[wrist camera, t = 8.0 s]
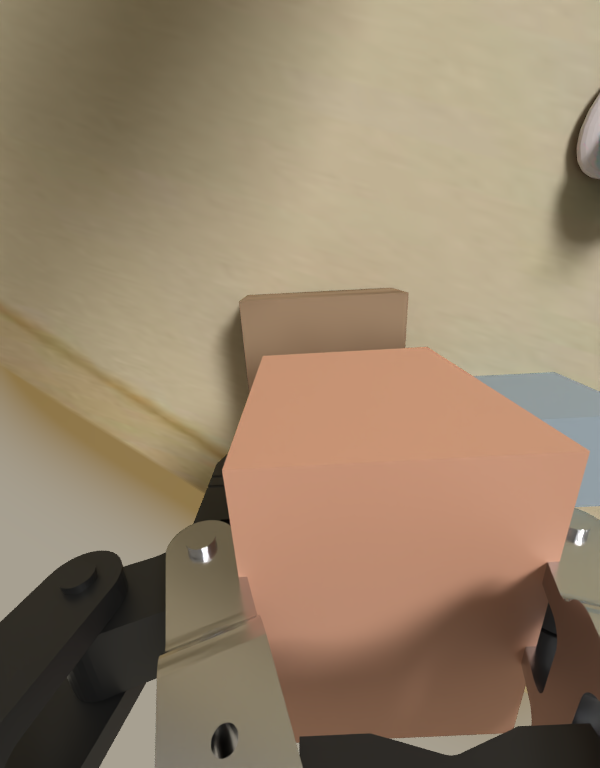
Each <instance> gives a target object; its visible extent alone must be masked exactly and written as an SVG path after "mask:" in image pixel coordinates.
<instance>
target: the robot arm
mask: <svg viewBox="0 0 600 768" xmlns="http://www.w3.org/2000/svg"><path fill="white" fill-rule="evenodd" d="M227 455H228V454H227ZM227 455H226V456H225V457H224V458H223V459H222V460H221V461H220V462H218V463H217V465H216V467H215V470H214V472H213V475H212V478H211V480H210V483H209V485H208V488H207V490H206V493H205V496H204V498H203V501H202V503H201V506H200V508H199V511H198V513H197V516H196V518H195V521H194V523H193V524H192V525H190V526H188V527H187V528H185V529H183V530H182V531H180V532H179V533H178V534H177V535H176V536H175V537H174V538H173V539H172V541H171V542H170V544H169V545H168V548H167V551H166V553H164V554H162V555H159V556H156V557H154V558H150V559H147V560H144V561H141V562H138V563H134V564H131V565H128V566H125V567H123V565H122V562H121V560H120V557H118V555H117V554H115V553H113V552H110V551H95V552H90V553H86V554H83V555H81V556H78V557H76V558H74V559H72V560H70V561H68V562H67V563H65V564H63V565H62V566H60V567H59V568H58V569H56V570H55V571H54V572H53V573H52V574H51V575H50V576H48V577H47V578H46V579H45V580H44V581H43V582H42V583H41V584H40V585H39V586H38V587H37V588H36V589H35V590H34V591H33V592H31V593H30V594H29V596H27V597H26V598H25V599H24V600H23V601H22V602H21V603H20V604H19V605H18V606H17V607H16V608H15V609H14V610H13V611H12V612H10V613H9V614H8V615H7V616H6V617H5V618H4V619H3V620H2V621H1V622H0V768H99V766H100V765H101V763H102V761H103V759H104V757H105V756H106V754H107V752H108V750H109V748H110V747H111V745H112V743H113V741H114V739H115V738H116V736H117V734H118V732H119V731H120V729H121V727H122V725H123V723H124V721H125V719H126V718H127V716H128V714H129V713H130V711H131V709H132V707H133V705H134V704H135V702H136V700H137V698H138V696H139V695H140V693H141V691H142V689H143V687H144V685H145V684H146V682H148V681H151V680H153V679H156V678H157V690H156V691H157V692H156V735H155V736H156V737H155V768H600V520H599V519H597V518H595V517H594V516H592V515H590V514H588V513H586V512H584V511H582V510H579V509H576V508H574V511H573V515H572V519H571V522H570V526H569V530H568V533H567V537H566V540H565V544H564V548H563V551H562V555H561V559H560V562H547V566H546V570H545V574H544V578H543V581H542V585H543V588H544V591H545V593H546V596H547V599H548V606H547V609H546V613H545V617H544V620H543V624H542V628H541V631H540V635H539V638H538V642H537V646H530V647H525V650H524V654H523V658H522V662H521V665H522V670H523V674H524V678H525V683H526V687H527V691H528V696H529V700H530V706H531V714H532V726H518V727H516V728H514V729H512V730H510V731H507V732H505V733H503V734H501V735H499V736H497V737H495V738H493V739H491V740H488V741H486V742H484V743H482V744H480V745H478V746H476V747H474V748H471V749H470V750H467V751H465V752H463V753H461V754H458V755H453V756H449V755H444V754H440V753H437V752H433V751H430V750H426V749H422V748H420V747H416V746H413V745H409V744H406V743H402V742H399V741H395V740H392V739H389V738H385V737H382V736H378V735H375V734H371V733H365V734H343V735H322V736H300V737H299V744H300V755H299V752H298V748H297V745H296V741H295V737H294V733H293V730H292V726H291V723H290V719H289V715H288V712H287V708H286V704H285V701H284V697H283V693H282V690H281V686H280V683H279V679H278V675H277V672H276V668H275V664H274V661H273V657H272V654H271V650H270V646H269V643H268V639H267V635H266V632H265V628H264V625H263V622H262V619H261V616H260V615H257V612H256V608H255V605H254V601H253V597H252V593H251V590H250V586H249V582H248V578H247V577H238V570H237V564H236V557H235V551H234V544H233V538H232V531H231V525H230V518H229V512H228V505H227V499H226V492H225V486H224V479H223V473H222V469H223V466H224V463H225V461H226V458H227Z"/></svg>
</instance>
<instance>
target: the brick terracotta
mask: <svg viewBox="0 0 600 768" xmlns="http://www.w3.org/2000/svg"><path fill="white" fill-rule="evenodd" d="M589 453H590V451H589V450H588V449H586V448H584V447H583V446H581V445H580V444H578V443H577V442H575V441H573V440H572V439H570V438H569V437H567V436H566V435H564V434H563V433H561V432H559V431H558V430H556V429H555V428H553V427H552V426H550V425H548V424H547V423H545V422H544V421H542V420H541V419H539V418H538V417H536V416H534V415H533V414H531V413H530V412H528V411H527V410H525V409H523V408H522V407H520V406H519V405H517V404H516V403H514V402H513V401H511V400H509V399H508V398H506V397H505V396H503V395H502V394H500V393H498V392H497V391H495V390H494V389H492V388H491V387H489V386H487V385H486V384H484V383H483V382H481V381H480V380H478V379H477V378H475V377H473V376H472V375H470V374H469V373H467V372H466V371H464V370H462V369H461V368H459V367H458V366H456V365H455V364H453V363H452V362H450V361H448V360H447V359H445V358H444V357H442V356H441V355H439V354H437V353H436V352H434V351H433V350H431V349H430V348H428V347H417V348H399V349H380V350H362V351H343V352H325V353H306V354H288V355H269V356H263V357H262V360H261V363H260V365H259V368H258V371H257V374H256V377H255V379H254V382H253V385H252V388H251V391H250V393H249V396H248V399H247V402H246V405H245V407H244V410H243V413H242V416H241V419H240V421H239V424H238V427H237V430H236V433H235V435H234V438H233V441H232V444H231V447H230V449H229V452H228V455H227V458H226V461H225V463H224V466H223V469H222V473H223V479H224V486H225V492H226V499H227V505H228V512H229V518H230V525H231V531H232V538H233V544H234V551H235V557H236V564H237V570H238V577H247V578H248V582H249V586H250V590H251V593H252V597H253V601H254V605H255V608H256V612H257V615H260V616H261V619H262V622H263V625H264V628H265V632H266V635H267V639H268V643H269V646H270V650H271V654H272V657H273V661H274V664H275V668H276V672H277V675H278V679H279V683H280V686H281V690H282V693H283V697H284V701H285V704H286V708H287V712H288V715H289V719H290V723H291V726H292V730H293V733H294V737H295V741H296V743H299V737H300V736H322V735H343V734H365V733H371V734H375V735H378V736H382V737H385V738H410V737H433V736H453V735H476V734H498V733H505V732H507V731H510V730H512V729H514V725H515V722H516V718H517V714H518V710H519V707H520V704H521V700H522V696H523V693H524V689H525V686H526V683H525V678H524V674H523V670H522V665H521V662H522V658H523V654H524V650H525V647H530V646H537V642H538V638H539V635H540V631H541V628H542V624H543V620H544V617H545V613H546V609H547V606H548V599H547V596H546V593H545V591H544V588H543V585H542V581H543V578H544V574H545V570H546V566H547V562H560V559H561V555H562V551H563V548H564V544H565V540H566V537H567V533H568V530H569V526H570V522H571V519H572V515H573V511H574V508H575V504H576V501H577V497H578V493H579V490H580V486H581V482H582V479H583V475H584V472H585V468H586V464H587V461H588V457H589Z"/></svg>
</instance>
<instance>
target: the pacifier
mask: <svg viewBox="0 0 600 768" xmlns="http://www.w3.org/2000/svg"><path fill="white" fill-rule="evenodd" d="M577 161H578V163H579V166H580V168H581V170H582V171H583V172H584V173H585V174H587V175H588V176H589V177H591V178H596V179H600V93H599V95H598V96H597V98H596V100H595V101H594V103H593V105H592V106H591V108H590V109H589V111H588V113H587V116H586V118H585V120H584V123H583V125H582V127H581V130H580V134H579V138H578V143H577Z"/></svg>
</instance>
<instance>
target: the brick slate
mask: <svg viewBox="0 0 600 768" xmlns="http://www.w3.org/2000/svg"><path fill="white" fill-rule="evenodd" d="M473 377H475V378H477V379H478V380H480V381H481V382H483V383H484V384H486V385H487V386H489V387H491V388H492V389H494V390H495V391H497V392H498V393H500V394H502V395H503V396H505V397H506V398H508V399H509V400H511V401H513V402H514V403H516V404H517V405H519V406H520V407H522V408H523V409H525V410H527V411H528V412H530V413H531V414H533V415H534V416H536V417H538V418H539V419H541V420H542V421H544V422H545V423H547V424H548V425H550V426H552V427H553V428H555V429H556V430H558V431H559V432H561V433H563V434H564V435H566V436H567V437H569V438H570V439H572V440H573V441H575V442H577V443H578V444H580V445H581V446H583V447H584V448H586V449H588V450H589V451H590V453H589V457H588V461H587V464H586V468H585V472H584V475H583V479H582V482H581V486H580V490H579V493H578V497H577V501H576V504H575V507H587V506H600V392H599V391H597V390H594V389H592V388H590V387H588V386H585V385H583V384H581V383H578V382H576V381H574V380H571V379H569V378H567V377H564V376H562V375H560V374H557V373H555V372H550V373H530V374H510V375H491V376H473Z"/></svg>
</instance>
